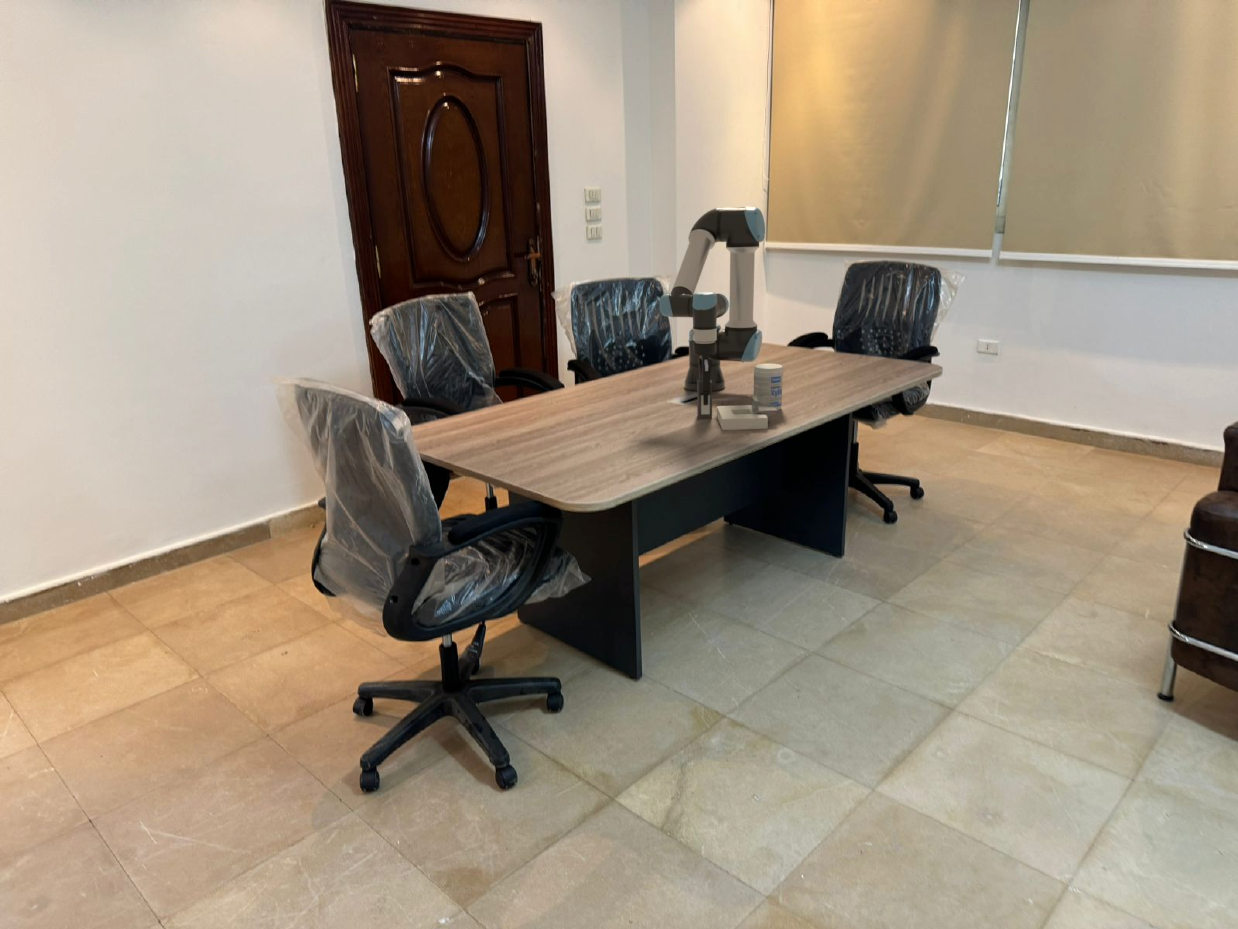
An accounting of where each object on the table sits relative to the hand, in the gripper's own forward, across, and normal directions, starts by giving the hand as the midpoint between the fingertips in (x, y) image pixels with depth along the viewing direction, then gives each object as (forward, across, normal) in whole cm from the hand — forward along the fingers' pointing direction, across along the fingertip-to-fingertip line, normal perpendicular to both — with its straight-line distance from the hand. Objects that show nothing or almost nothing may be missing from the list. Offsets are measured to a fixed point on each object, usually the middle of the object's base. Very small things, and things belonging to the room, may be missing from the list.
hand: (704, 411), depth 268 cm
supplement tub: (+2, -8, +22) cm, 23 cm away
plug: (+2, 0, 0) cm, 2 cm away
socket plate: (+2, +8, +11) cm, 14 cm away
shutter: (-2, +8, +18) cm, 20 cm away
